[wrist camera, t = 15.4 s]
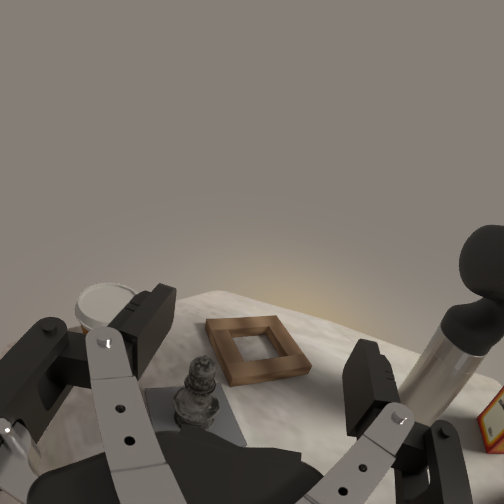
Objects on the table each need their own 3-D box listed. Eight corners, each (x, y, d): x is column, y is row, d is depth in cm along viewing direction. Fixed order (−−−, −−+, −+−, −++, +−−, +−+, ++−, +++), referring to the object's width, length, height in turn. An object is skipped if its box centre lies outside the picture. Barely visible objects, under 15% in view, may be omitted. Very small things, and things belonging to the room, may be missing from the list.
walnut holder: (273, 323, 60) (276, 315, 60) (308, 373, 49) (312, 365, 48) (204, 327, 54) (206, 319, 54) (229, 386, 43) (232, 378, 42)
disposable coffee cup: (157, 374, 42) (161, 310, 37) (103, 400, 34) (94, 335, 30) (122, 337, 46) (123, 274, 42) (73, 356, 39) (63, 290, 34)
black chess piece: (164, 407, 36) (168, 342, 31) (202, 396, 39) (215, 332, 35) (184, 442, 32) (192, 382, 27) (224, 427, 35) (243, 367, 31)
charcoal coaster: (219, 385, 43) (219, 382, 42) (246, 446, 34) (247, 444, 34) (145, 391, 38) (145, 388, 38) (160, 459, 29) (160, 457, 29)
